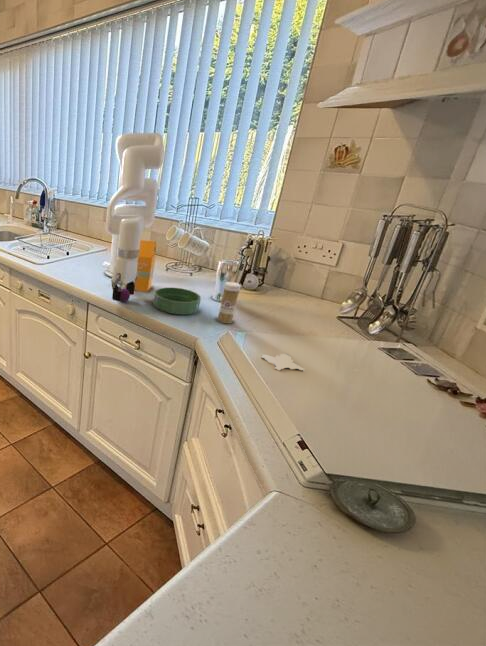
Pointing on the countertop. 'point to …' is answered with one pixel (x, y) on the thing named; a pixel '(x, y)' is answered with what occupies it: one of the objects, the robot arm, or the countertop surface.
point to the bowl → (176, 300)
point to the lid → (373, 506)
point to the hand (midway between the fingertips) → (123, 296)
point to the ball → (124, 295)
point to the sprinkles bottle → (228, 302)
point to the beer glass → (225, 276)
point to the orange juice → (145, 265)
